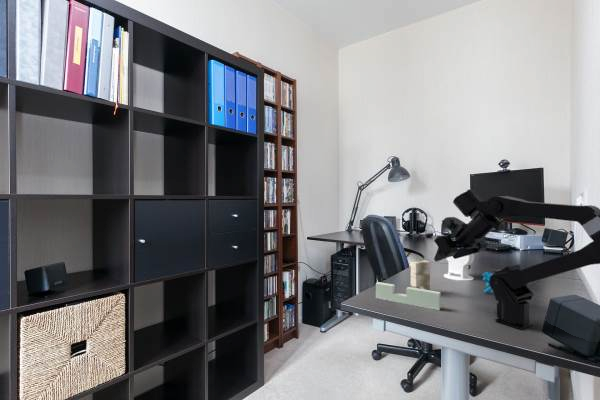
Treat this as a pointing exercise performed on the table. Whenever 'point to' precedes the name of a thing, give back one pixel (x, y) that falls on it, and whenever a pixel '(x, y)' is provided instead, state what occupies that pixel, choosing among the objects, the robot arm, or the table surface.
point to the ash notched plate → (420, 274)
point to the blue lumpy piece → (486, 278)
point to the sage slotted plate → (409, 296)
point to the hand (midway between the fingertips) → (444, 259)
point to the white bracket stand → (459, 268)
